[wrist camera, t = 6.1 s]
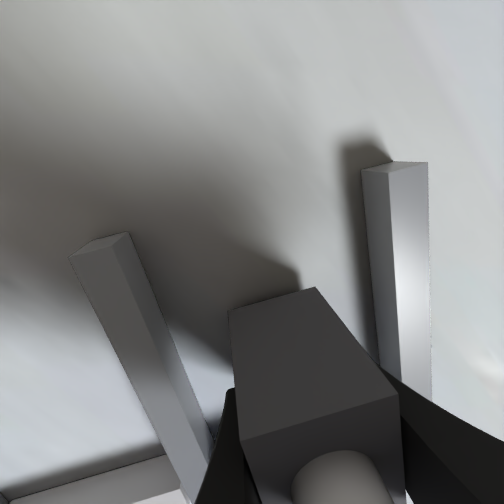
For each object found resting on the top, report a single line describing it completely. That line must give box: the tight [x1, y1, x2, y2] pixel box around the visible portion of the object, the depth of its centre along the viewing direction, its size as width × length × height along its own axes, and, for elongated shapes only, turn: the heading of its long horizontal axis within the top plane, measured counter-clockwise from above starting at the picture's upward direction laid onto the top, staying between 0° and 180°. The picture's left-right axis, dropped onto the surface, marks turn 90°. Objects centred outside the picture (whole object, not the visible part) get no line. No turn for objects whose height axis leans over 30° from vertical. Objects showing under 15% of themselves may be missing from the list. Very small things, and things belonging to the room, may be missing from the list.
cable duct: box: [0, 161, 432, 504], centre depth 12 cm, size 14×24×3 cm, turn 103°
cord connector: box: [228, 287, 406, 504], centre depth 10 cm, size 5×4×8 cm
